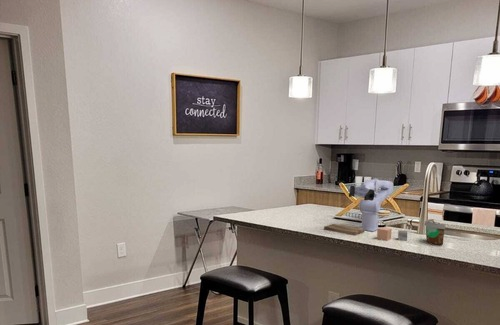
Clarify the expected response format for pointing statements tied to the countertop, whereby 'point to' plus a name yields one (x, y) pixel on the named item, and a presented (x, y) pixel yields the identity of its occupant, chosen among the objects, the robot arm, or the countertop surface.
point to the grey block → (402, 235)
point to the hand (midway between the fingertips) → (357, 196)
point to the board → (344, 229)
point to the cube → (384, 233)
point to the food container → (434, 232)
